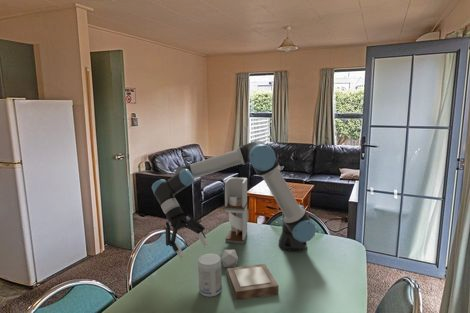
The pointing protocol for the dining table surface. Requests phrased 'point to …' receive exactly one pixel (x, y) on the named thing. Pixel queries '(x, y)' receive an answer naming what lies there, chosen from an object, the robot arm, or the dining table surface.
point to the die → (229, 258)
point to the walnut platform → (252, 282)
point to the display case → (236, 208)
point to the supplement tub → (210, 275)
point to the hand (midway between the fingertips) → (194, 251)
